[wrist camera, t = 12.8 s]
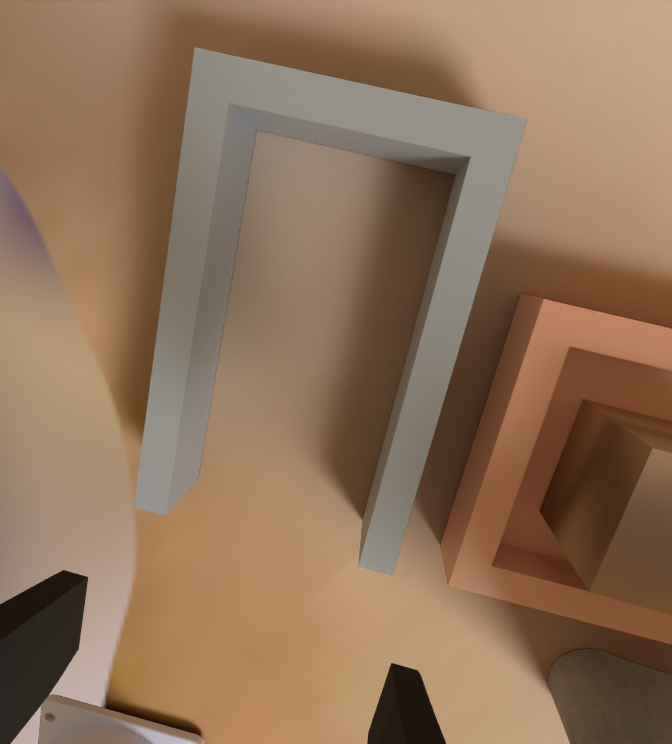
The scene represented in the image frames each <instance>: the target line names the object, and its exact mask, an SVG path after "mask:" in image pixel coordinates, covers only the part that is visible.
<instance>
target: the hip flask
mask: <svg viewBox="0 0 672 744" xmlns="http://www.w3.org/2000/svg"><path fill="white" fill-rule="evenodd" d="M548 685H549V689H550V692H551V694H552V697H553V699H554V702H555V705H556V707H557V710H558V713H559V715H560V718H561V720H562V723H563V726H564V728H565V731H566V734H567V736H568V739H569V741H570V744H672V675H671V674H668V673H665V672H661V671H658V670H654V669H651V668H648V667H645V666H642V665H639V664H636V663H634V662H631V661H628V660H625V659H622V658H620V657H617V656H615V655H612V654H609V653H607V652H604V651H601V650H596V649H580V650H575V651H572V652H569V653H567V654H565V655H564V656H562V657H561V658H559V659H558V660H557V661H556V662H555V663H554V665H553V666H552V668H551V670H550V672H549V676H548Z"/></svg>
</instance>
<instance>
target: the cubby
mask: <svg viewBox="0 0 672 744" xmlns="http://www.w3.org/2000/svg"><path fill="white" fill-rule="evenodd" d="M526 122H527V119H523V118H519V117H514V116H510V115H505V114H500V113H496V112H491V111H487V110H482V109H477V108H473V107H468V106H464V105H459V104H454V103H450V102H445V101H441V100H436V99H431V98H427V97H422V96H418V95H413V94H408V93H404V92H399V91H395V90H390V89H385V88H381V87H376V86H372V85H367V84H362V83H358V82H353V81H348V80H344V79H339V78H335V77H330V76H325V75H321V74H316V73H312V72H307V71H302V70H298V69H293V68H289V67H284V66H279V65H275V64H270V63H266V62H261V61H256V60H252V59H247V58H243V57H238V56H233V55H229V54H224V53H220V52H215V51H210V50H206V49H201V48H197V47H195V48H194V55H193V63H192V71H191V78H190V86H189V93H188V101H187V108H186V116H185V124H184V131H183V139H182V146H181V154H180V161H179V169H178V176H177V184H176V192H175V199H174V207H173V214H172V222H171V229H170V237H169V245H168V252H167V260H166V267H165V275H164V282H163V290H162V297H161V305H160V313H159V320H158V328H157V335H156V343H155V350H154V358H153V366H152V373H151V381H150V388H149V396H148V403H147V411H146V418H145V426H144V434H143V441H142V449H141V456H140V464H139V471H138V479H137V486H136V494H135V502H134V508H138V509H142V510H145V511H149V512H153V513H157V514H161V515H165V516H166V515H167V514H168V513H169V512H170V511H171V509H172V508H173V507H174V506H175V505H176V504H177V502H178V501H179V500H180V499H181V498H182V497H183V495H184V494H185V493H186V492H187V491H188V489H189V488H190V487H191V486H192V485H193V484H194V482H195V481H196V480H197V479H198V476H199V470H200V464H201V458H202V452H203V446H204V440H205V434H206V428H207V422H208V416H209V410H210V404H211V398H212V392H213V386H214V380H215V374H216V368H217V362H218V356H219V350H220V345H221V339H222V333H223V327H224V321H225V315H226V309H227V303H228V297H229V291H230V285H231V279H232V273H233V267H234V261H235V255H236V249H237V243H238V237H239V231H240V225H241V219H242V213H243V207H244V201H245V195H246V189H247V183H248V177H249V171H250V165H251V159H252V153H253V147H254V141H255V135H256V130H258V131H262V132H267V133H271V134H276V135H280V136H285V137H289V138H294V139H298V140H302V141H307V142H311V143H316V144H320V145H325V146H329V147H334V148H338V149H343V150H347V151H352V152H356V153H361V154H365V155H369V156H374V157H378V158H383V159H387V160H392V161H396V162H401V163H405V164H410V165H414V166H419V167H423V168H428V169H432V170H437V171H441V172H445V173H450V174H454V175H455V179H454V182H453V186H452V190H451V193H450V197H449V201H448V205H447V208H446V212H445V216H444V219H443V223H442V227H441V231H440V234H439V238H438V242H437V245H436V249H435V253H434V257H433V260H432V264H431V268H430V271H429V275H428V279H427V283H426V286H425V290H424V294H423V297H422V301H421V305H420V309H419V312H418V316H417V320H416V323H415V327H414V331H413V335H412V338H411V342H410V346H409V349H408V353H407V357H406V361H405V364H404V368H403V372H402V375H401V379H400V383H399V387H398V390H397V394H396V398H395V401H394V405H393V409H392V413H391V416H390V420H389V424H388V427H387V431H386V435H385V439H384V442H383V446H382V450H381V453H380V457H379V461H378V464H377V468H376V472H375V476H374V479H373V483H372V487H371V490H370V494H369V498H368V502H367V505H366V509H365V513H364V516H363V520H362V531H361V542H360V554H359V565H358V566H359V567H363V568H367V569H370V570H374V571H378V572H382V573H386V574H389V575H392V574H393V571H394V567H395V564H396V560H397V557H398V554H399V550H400V547H401V544H402V540H403V537H404V533H405V530H406V527H407V523H408V520H409V517H410V513H411V510H412V506H413V503H414V500H415V496H416V493H417V490H418V486H419V483H420V479H421V476H422V473H423V469H424V466H425V463H426V459H427V456H428V453H429V449H430V446H431V442H432V439H433V436H434V432H435V429H436V426H437V422H438V419H439V415H440V412H441V409H442V405H443V402H444V399H445V395H446V392H447V388H448V385H449V382H450V378H451V375H452V372H453V368H454V365H455V361H456V358H457V355H458V351H459V348H460V345H461V341H462V338H463V335H464V331H465V328H466V324H467V321H468V318H469V314H470V311H471V308H472V304H473V301H474V297H475V294H476V291H477V287H478V284H479V281H480V277H481V274H482V270H483V267H484V264H485V260H486V257H487V254H488V250H489V247H490V244H491V240H492V237H493V233H494V230H495V227H496V223H497V220H498V217H499V213H500V210H501V206H502V203H503V200H504V196H505V193H506V190H507V186H508V183H509V179H510V176H511V173H512V169H513V166H514V163H515V159H516V156H517V152H518V149H519V146H520V142H521V139H522V136H523V132H524V129H525V126H526Z"/></svg>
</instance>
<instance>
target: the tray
mask: <svg viewBox="0 0 672 744" xmlns="http://www.w3.org/2000/svg"><path fill="white" fill-rule="evenodd" d="M583 399H586V400H589V401H593V402H597V403H601V404H605V405H609V406H613V407H617V408H621V409H624V410H628V411H632V412H636V413H640V414H644V415H648V416H652V417H656V418H659V419H663V420H667V421H671V422H672V328H668V327H664V326H660V325H655V324H651V323H647V322H642V321H638V320H634V319H630V318H625V317H621V316H617V315H612V314H608V313H604V312H600V311H595V310H591V309H587V308H582V307H578V306H574V305H570V304H565V303H561V302H557V301H552V300H548V299H544V298H540V297H535V296H531V295H527V294H522V293H521V295H520V298H519V301H518V304H517V307H516V310H515V314H514V317H513V320H512V323H511V326H510V329H509V332H508V335H507V339H506V342H505V345H504V348H503V351H502V354H501V357H500V360H499V363H498V367H497V370H496V373H495V376H494V379H493V382H492V385H491V388H490V392H489V395H488V398H487V401H486V404H485V407H484V410H483V413H482V417H481V420H480V423H479V426H478V429H477V432H476V435H475V438H474V442H473V445H472V448H471V451H470V454H469V457H468V460H467V463H466V466H465V470H464V473H463V476H462V479H461V482H460V485H459V488H458V491H457V495H456V498H455V501H454V504H453V507H452V510H451V513H450V516H449V520H448V523H447V526H446V529H445V532H444V535H443V538H442V541H441V545H440V546H441V552H442V557H443V562H444V567H445V572H446V578H447V583H448V586H450V587H454V588H458V589H461V590H465V591H469V592H473V593H477V594H480V595H484V596H488V597H492V598H496V599H500V600H503V601H507V602H511V603H515V604H519V605H522V606H526V607H530V608H534V609H538V610H542V611H545V612H549V613H553V614H557V615H561V616H564V617H568V618H572V619H576V620H580V621H584V622H587V623H591V624H595V625H599V626H603V627H606V628H610V629H614V630H618V631H622V632H625V633H629V634H633V635H637V636H641V637H645V638H648V639H652V640H656V641H660V642H664V643H667V644H671V645H672V615H670V614H666V613H663V612H659V611H655V610H652V609H648V608H644V607H641V606H637V605H633V604H630V603H626V602H622V601H619V600H615V599H611V598H608V597H604V596H600V595H597V594H593V593H589V592H588V590H587V588H586V587H585V585H584V583H583V582H582V580H581V579H580V577H579V575H578V574H577V572H576V570H575V569H574V567H573V565H572V564H571V562H570V561H569V559H568V557H567V556H566V554H565V552H564V551H563V549H562V547H561V546H560V544H559V543H558V541H557V539H556V538H555V536H554V534H553V533H552V531H551V529H550V528H549V526H548V524H547V523H546V521H545V520H544V518H543V516H542V515H541V513H540V511H539V510H540V507H541V505H542V502H543V499H544V497H545V494H546V492H547V489H548V487H549V484H550V482H551V479H552V476H553V474H554V471H555V469H556V466H557V464H558V461H559V459H560V456H561V453H562V451H563V448H564V446H565V443H566V441H567V438H568V436H569V433H570V430H571V428H572V425H573V423H574V420H575V418H576V415H577V413H578V410H579V407H580V405H581V402H582V400H583Z"/></svg>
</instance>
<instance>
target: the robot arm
mask: <svg viewBox="0 0 672 744" xmlns="http://www.w3.org/2000/svg"><path fill="white" fill-rule="evenodd" d="M87 582H88V577H86V576H82V575H79V574H75V573H72V572H68V571H64V570H63V571H61V572H59V573H57V574H55V575H53V576H51V577H50V578H48V579H46V580H44V581H42V582H40V583H38V584H37V585H35V586H33V587H31V588H29V589H27V590H26V591H24V592H22V593H20V594H18V595H17V596H15V597H13V598H11V599H9V600H7V601H6V602H4V603H2V604H0V744H10V743H11V742H12V741H13V740H14V738H15V737H16V736H17V735H18V733H19V732H20V731H21V730H22V728H23V727H24V726H25V725H26V723H27V722H28V721H29V720H30V718H31V717H32V716H33V714H34V713H35V712H36V711H37V709H38V708H39V707H40V706H41V704H42V706H41V718H40V729H39V740H38V744H204V741H203V739H202V738H201V737H200V736H199V735H197V734H194V733H190V732H187V731H183V730H179V729H176V728H172V727H169V726H165V725H162V724H158V723H155V722H151V721H148V720H144V719H141V718H137V717H133V716H130V715H126V714H123V713H119V712H116V711H112V710H109V709H105V708H102V707H98V706H94V705H91V704H87V703H84V702H80V701H77V700H73V699H70V698H66V697H63V696H59V695H50V696H48V695H49V694H50V692H51V691H52V689H53V688H54V686H55V685H56V683H57V682H58V680H59V679H60V677H61V676H62V674H63V673H64V671H65V670H66V668H67V666H68V665H69V663H70V662H71V660H72V658H73V657H74V655H75V654H76V652H77V651H78V649H79V642H80V634H81V627H82V620H83V612H84V605H85V597H86V589H87ZM367 744H446V742H445V739H444V737H443V734H442V732H441V729H440V727H439V724H438V721H437V719H436V716H435V714H434V711H433V708H432V705H431V703H430V700H429V697H428V694H427V692H426V689H425V686H424V683H423V680H422V677H421V675H420V673H419V671H418V670H414V669H411V668H407V667H404V666H400V665H397V664H393V663H391V666H390V669H389V672H388V675H387V678H386V681H385V684H384V687H383V690H382V693H381V696H380V699H379V702H378V705H377V708H376V711H375V714H374V717H373V720H372V723H371V726H370V729H369V732H368V743H367Z"/></svg>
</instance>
